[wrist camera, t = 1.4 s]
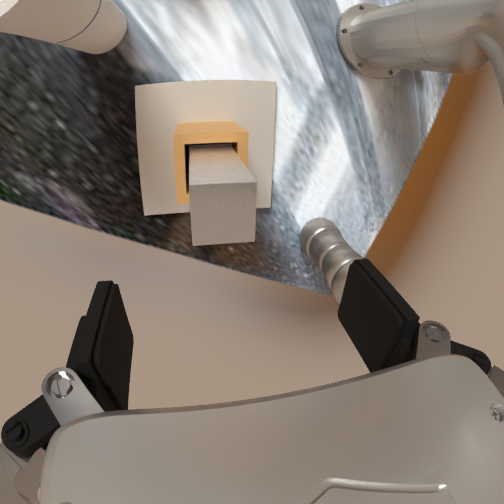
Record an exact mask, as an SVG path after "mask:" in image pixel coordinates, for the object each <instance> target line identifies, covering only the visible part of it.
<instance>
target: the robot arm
mask: <svg viewBox="0 0 504 504" xmlns="http://www.w3.org/2000/svg"><path fill="white" fill-rule="evenodd" d="M342 31H343V33H342ZM337 40H338V43H339V47H340V49H341V51H342V53H343V55H344V57H345V58H346V60H347V61H348V62H349V63H350V65H351V66H352V67H353V68H355V69H356V70H357V71H358V72H360V73H362V74H363V75H365V76H368V77H371V78H377V79H386V78H391V77H393V76H395V75H397V74H398V73H399V72H401V70H419V71H433V72H443V73H453V74H470V73H473V72H475V71H477V70H479V69H480V68H481V67H482V66H484V65H485V63H486V62H487V61H488V60H490V62H491V64H492V67H493V70H494V73H495V76H496V78H497V81H498V84H499V88H500V92H501V96H502V100H503V104H504V0H409V1H405V2H401V3H397V4H393V5H389V6H385V7H380V6H378V5H374V4H370V3H362V4H357V5H354V6H352V7H350V8H348V9H347V10H346V11H345V12H344V13H343V14H342V15H341V17H340V19H339V22H338V25H337ZM358 65H359V66H358ZM338 318H339V320H340V322H341V324H342V325H343V327H344V328H345V330H346V332H347V334H348V335H349V337H350V339H351V340H352V342H353V344H354V345H355V347H356V349H357V350H358V352H359V354H360V355H361V357H362V359H363V361H364V362H365V364H366V366H367V368H368V369H369V371H370V373H369V374H365V375H362V376H358V377H354V378H350V379H347V380H343V381H339V382H335V383H331V384H327V385H322V386H318V387H314V388H309V389H304V390H299V391H294V392H290V393H284V394H278V395H273V396H267V397H261V398H255V399H248V400H241V401H233V402H225V403H217V404H208V405H197V406H185V407H172V408H155V409H134V410H128V396H129V383H130V370H131V361H132V351H133V334H132V331H131V327H130V324H129V321H128V318H127V315H126V311H125V308H124V304H123V301H122V297H121V294H120V290H119V287H118V284H114V283H113V281H99V282H98V283H97V285H96V288H95V291H94V293H93V296H92V299H91V302H90V305H89V308H88V311H87V314H86V316H82V317H81V319H80V321H79V324H78V327H77V331H76V333H75V337H74V340H73V343H72V347H71V350H70V354H69V357H68V361H67V365H66V368H57V369H54V370H52V371H51V372H49V373H48V374H47V375H46V377H45V378H44V380H43V382H42V392H43V395H41V396H40V397H39V398H37V399H36V400H35V401H33V402H32V403H30V404H29V405H28V406H26V407H25V408H23V409H22V410H21V411H19V412H18V413H17V414H15V415H14V416H13V417H11V418H10V419H9V420H7V421H6V422H5V424H4V426H3V428H2V432H1V438H2V442H1V444H0V504H504V371H502V370H501V369H499V368H498V367H496V366H495V365H494V366H493V368H492V367H491V362H490V360H489V358H488V357H487V356H486V354H484V353H483V352H481V351H479V350H476V349H474V348H471V347H468V346H465V345H462V344H459V343H456V342H454V341H451V340H450V333H449V331H448V330H447V329H446V327H445V326H443V325H442V324H440V323H438V322H436V321H425V322H423V323H422V324H420V323H419V322H418V321H419V318H420V317H419V316H418V315H417V314H416V313H415V311H414V310H413V309H412V308H411V307H410V305H409V304H408V303H407V302H406V301H405V300H404V299H403V297H402V296H401V295H400V294H399V293H398V292H397V291H396V289H395V288H394V287H393V286H392V285H391V284H390V283H389V282H388V280H387V279H386V278H385V277H384V276H383V275H382V274H381V273H380V272H379V270H377V268H376V267H375V266H374V265H373V264H372V263H371V262H370V261H369V260H368V259H366V258H365V259H356V260H354V261H353V262H352V263H351V264H350V265H349V269H348V273H347V277H346V282H345V286H344V290H343V294H342V298H341V302H340V306H339V310H338ZM39 487H40V503H39V501H38V498H37V492H38V489H39Z"/></svg>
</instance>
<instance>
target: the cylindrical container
mask: <svg viewBox="0 0 504 504" xmlns="http://www.w3.org/2000/svg"><path fill="white" fill-rule="evenodd" d="M126 30H127V19H126V17H125V15H124V13H123V12H122V11H121V10H120V9H119V8H118V7H117V6H116V5H115V4H114V3H113V2H112V0H0V32H5V33H10V34H15V35H20V36H25V37H30V38H34V39H39V40H43V41H47V42H51V43H55V44H58V45H62V46H66V47H69V48H73V49H76V50H80V51H83V52H86V53H90V54H102V53H105V52H107V51H110V50H111V49H113V48H114V47H116V46H117V45H118V44H119V43H120V41H121V40H122V39H123V37H124V35H125V33H126Z"/></svg>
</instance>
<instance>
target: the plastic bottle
mask: <svg viewBox="0 0 504 504" xmlns="http://www.w3.org/2000/svg"><path fill="white" fill-rule="evenodd" d="M300 244H301V247H302V250H303V251H304V253H305V254H306V255H307V256H308V257H309V258H310V259H312V260H313V261H314V262H315V263H316V264H317V265H318V267H319V268H320V269H321V271H322V272H323V274H324V276H325V278H326V280H327V282H328V284H329V287H330V289H331V292H332V294H333V296H334V298H335V300H336V301H337V302H338V303H339V304H340V302H341V298H342V294H343V290H344V286H345V282H346V277H347V273H348V269H349V265H350V264H351V263H352V262H353V261H354V260H356V259H365V258H363V257H362V256H360V255H359V254H358V253H357V252H356V251H355V250H353V249H352V248H351V247H350V246H349V245H348V244H347V242H346V241H345V240H344V238H343V237H342V235H341V233H340V231H339V229H338V228H337V226H336V225H335V224H334V223H333V222H331V221H330V220H328V219H326V218H315V219H313V220H311V221H309V222H308V223H307V224H306V225H305V226H304V227H303V229H302V231H301V233H300Z"/></svg>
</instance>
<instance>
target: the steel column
mask: <svg viewBox="0 0 504 504" xmlns="http://www.w3.org/2000/svg"><path fill="white" fill-rule="evenodd" d="M189 197H190V214H191V229H192V243H193V246H197V245H211V244H225V243H240V242H255V224H256V197H257V181H256V180H255V178H254V177H253V176H252V174H251V173H250V171H249V170H248V169H247V167H246V166H245V164H244V163H243V161H242V160H241V159H240V157H239V156H238V154H237V153H236V152H235V150H234V149H233V147H232V144H231V143H229V142H223V143H199V144H189Z"/></svg>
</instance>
